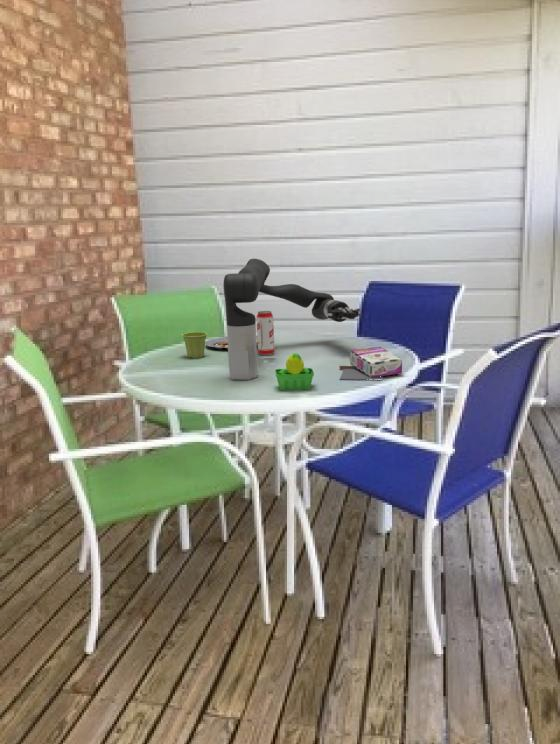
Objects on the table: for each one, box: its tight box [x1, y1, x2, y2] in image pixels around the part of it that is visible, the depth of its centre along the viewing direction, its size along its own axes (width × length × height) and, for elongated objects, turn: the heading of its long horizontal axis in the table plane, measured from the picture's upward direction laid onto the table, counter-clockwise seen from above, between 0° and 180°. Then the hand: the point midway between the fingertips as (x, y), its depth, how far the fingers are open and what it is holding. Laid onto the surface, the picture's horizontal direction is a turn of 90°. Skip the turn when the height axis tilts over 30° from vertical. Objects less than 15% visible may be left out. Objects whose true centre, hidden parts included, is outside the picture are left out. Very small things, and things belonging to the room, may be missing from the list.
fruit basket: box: [274, 352, 315, 391], centre depth 194 cm, size 11×9×11 cm
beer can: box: [256, 310, 275, 356], centre depth 243 cm, size 6×6×16 cm
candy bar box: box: [349, 346, 403, 378], centre depth 210 cm, size 11×5×16 cm
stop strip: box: [339, 365, 357, 371], centre depth 214 cm, size 1×16×1 cm, turn 79°
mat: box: [339, 369, 384, 381], centre depth 208 cm, size 14×13×1 cm
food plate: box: [205, 335, 258, 350], centre depth 264 cm, size 25×23×4 cm
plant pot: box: [181, 331, 208, 359], centre depth 244 cm, size 9×9×9 cm
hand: (352, 316), depth 227 cm, fingers closed
